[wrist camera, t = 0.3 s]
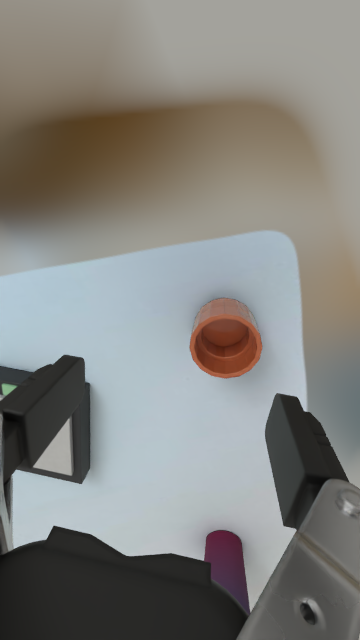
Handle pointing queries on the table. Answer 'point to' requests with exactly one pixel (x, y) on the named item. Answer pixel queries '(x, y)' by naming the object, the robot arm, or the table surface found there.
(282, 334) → the table surface
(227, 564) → the cup
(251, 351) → the flower pot
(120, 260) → the table surface
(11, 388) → the scale
